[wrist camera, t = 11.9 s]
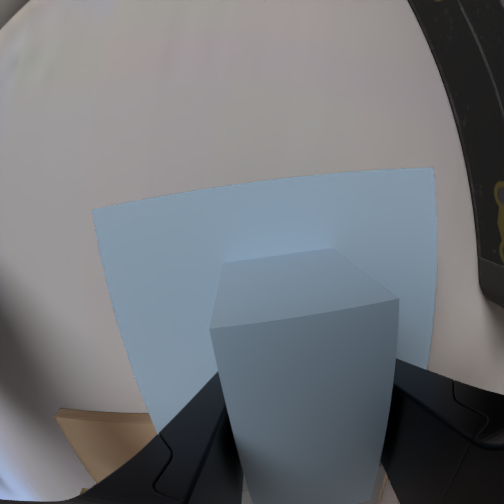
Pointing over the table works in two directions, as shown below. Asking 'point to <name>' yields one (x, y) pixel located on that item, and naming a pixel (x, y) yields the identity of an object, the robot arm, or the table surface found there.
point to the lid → (281, 315)
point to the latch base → (131, 443)
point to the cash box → (475, 112)
